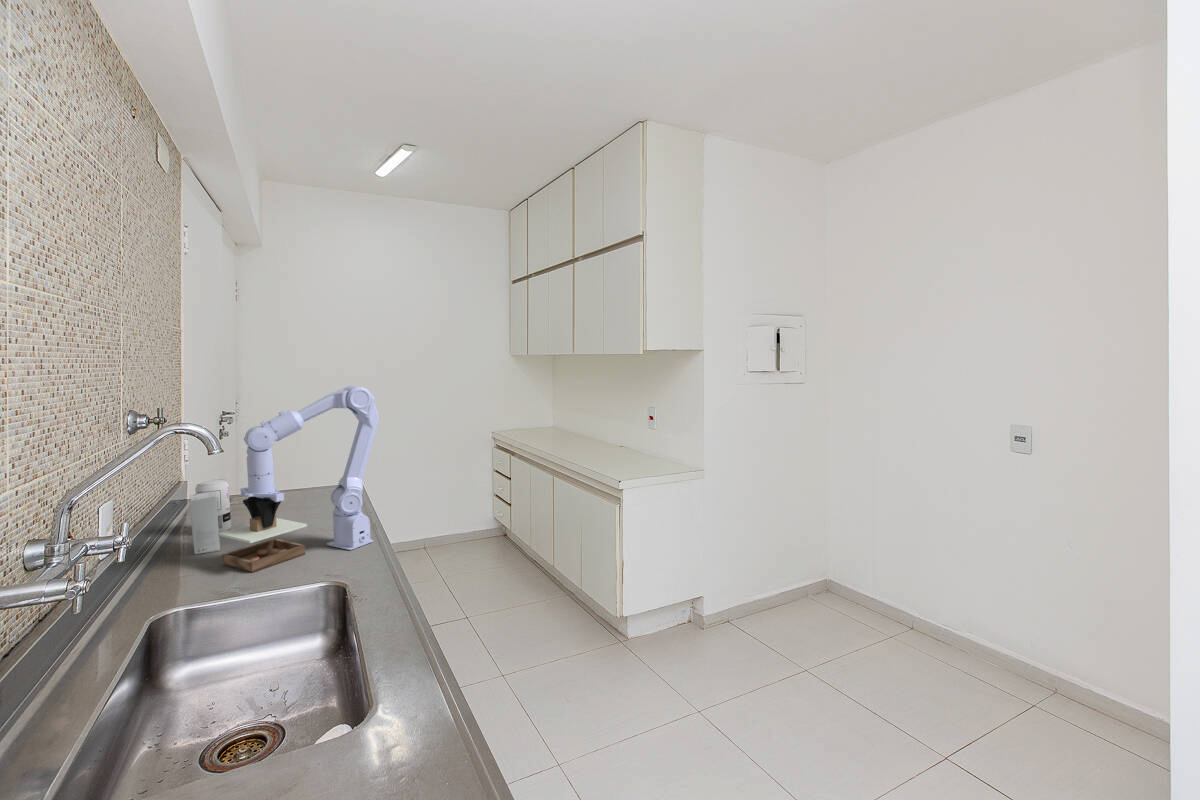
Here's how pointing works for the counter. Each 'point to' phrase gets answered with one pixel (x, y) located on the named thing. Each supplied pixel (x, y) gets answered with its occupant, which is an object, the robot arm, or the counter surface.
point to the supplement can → (218, 500)
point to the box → (263, 555)
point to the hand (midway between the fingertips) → (263, 525)
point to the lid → (261, 530)
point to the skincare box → (204, 523)
